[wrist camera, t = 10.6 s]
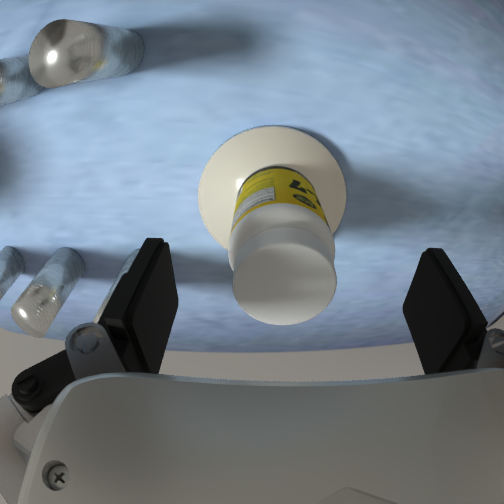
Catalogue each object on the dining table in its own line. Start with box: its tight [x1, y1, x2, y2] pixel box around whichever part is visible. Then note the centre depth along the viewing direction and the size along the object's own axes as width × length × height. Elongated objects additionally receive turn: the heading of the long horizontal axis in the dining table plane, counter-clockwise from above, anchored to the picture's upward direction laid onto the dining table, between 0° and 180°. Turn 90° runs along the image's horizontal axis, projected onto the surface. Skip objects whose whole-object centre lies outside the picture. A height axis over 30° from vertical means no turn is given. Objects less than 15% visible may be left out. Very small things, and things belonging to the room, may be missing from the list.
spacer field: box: [0, 19, 144, 338], centre depth 16 cm, size 17×18×7 cm
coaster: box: [198, 125, 346, 250], centre depth 19 cm, size 9×9×1 cm
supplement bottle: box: [228, 165, 337, 325], centre depth 16 cm, size 5×5×8 cm
